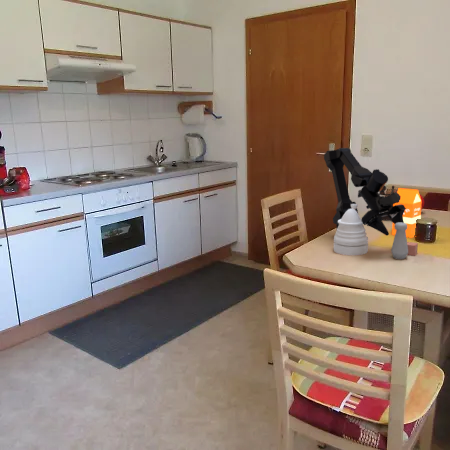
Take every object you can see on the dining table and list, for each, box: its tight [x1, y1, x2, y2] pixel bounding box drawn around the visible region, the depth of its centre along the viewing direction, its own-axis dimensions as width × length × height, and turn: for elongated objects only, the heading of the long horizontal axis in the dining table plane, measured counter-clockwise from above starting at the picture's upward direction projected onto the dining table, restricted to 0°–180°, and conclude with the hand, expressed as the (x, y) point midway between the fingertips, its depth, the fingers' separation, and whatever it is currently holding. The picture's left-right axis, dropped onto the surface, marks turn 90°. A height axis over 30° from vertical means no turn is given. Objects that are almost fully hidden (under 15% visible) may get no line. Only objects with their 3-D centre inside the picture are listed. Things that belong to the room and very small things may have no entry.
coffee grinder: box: [378, 185, 395, 222], centre depth 221 cm, size 16×11×18 cm
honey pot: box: [333, 203, 369, 256], centre depth 174 cm, size 13×13×18 cm
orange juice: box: [391, 187, 422, 239], centre depth 192 cm, size 8×9×20 cm
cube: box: [407, 241, 419, 257], centre depth 168 cm, size 4×4×4 cm
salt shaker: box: [390, 222, 408, 260], centre depth 163 cm, size 6×6×13 cm
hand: (396, 232), depth 164 cm, fingers open, 9 cm apart
